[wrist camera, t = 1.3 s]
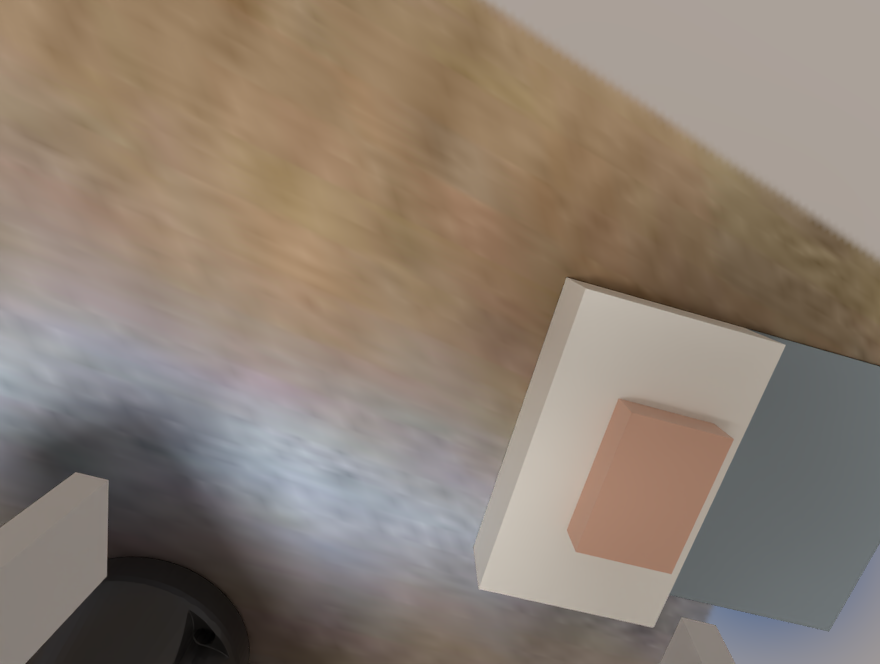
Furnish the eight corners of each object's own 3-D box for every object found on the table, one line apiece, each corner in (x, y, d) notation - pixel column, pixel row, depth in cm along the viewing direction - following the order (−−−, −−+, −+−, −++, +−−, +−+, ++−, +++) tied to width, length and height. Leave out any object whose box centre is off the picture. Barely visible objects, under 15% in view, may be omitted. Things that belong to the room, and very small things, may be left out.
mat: (826, 628, 39) (829, 631, 39) (630, 583, 37) (631, 586, 37) (961, 389, 34) (966, 391, 34) (743, 327, 33) (746, 328, 32)
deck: (630, 583, 37) (653, 627, 34) (473, 547, 36) (478, 588, 32) (743, 327, 33) (785, 344, 29) (566, 277, 32) (585, 288, 28)
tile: (656, 551, 32) (671, 574, 30) (566, 530, 32) (575, 551, 30) (714, 423, 30) (733, 439, 28) (618, 398, 29) (632, 412, 27)
